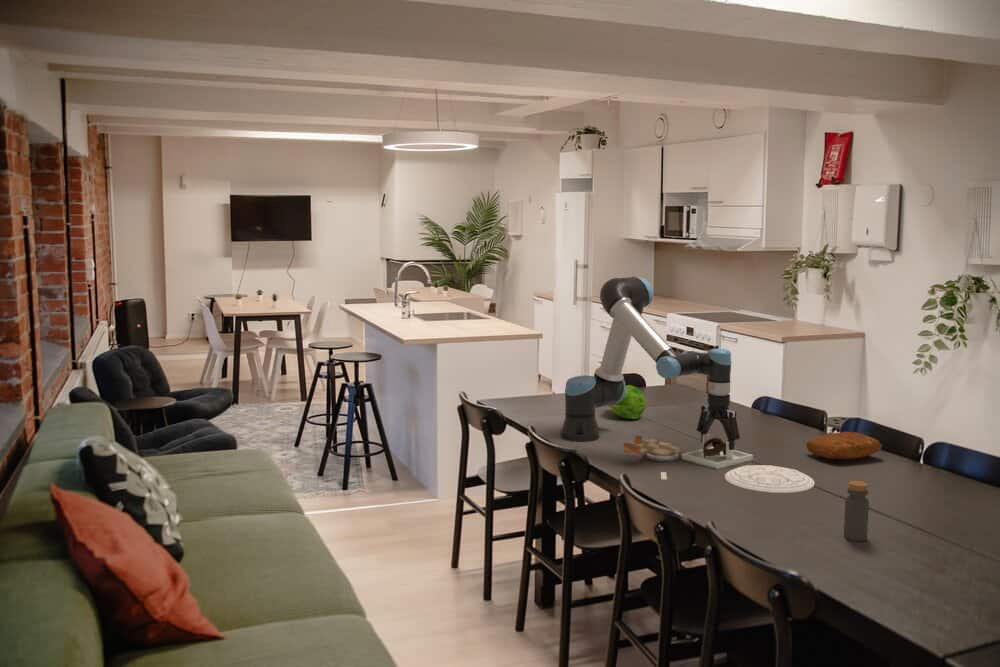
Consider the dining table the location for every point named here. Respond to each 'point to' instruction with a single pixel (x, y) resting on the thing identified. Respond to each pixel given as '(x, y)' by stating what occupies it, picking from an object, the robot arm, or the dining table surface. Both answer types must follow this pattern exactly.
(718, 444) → the pottery mug
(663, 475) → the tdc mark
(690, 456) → the tray
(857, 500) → the bottle
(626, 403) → the lettuce
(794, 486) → the ceiling medallion
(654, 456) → the crank housing
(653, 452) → the crank
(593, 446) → the dining table surface
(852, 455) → the bread loaf
